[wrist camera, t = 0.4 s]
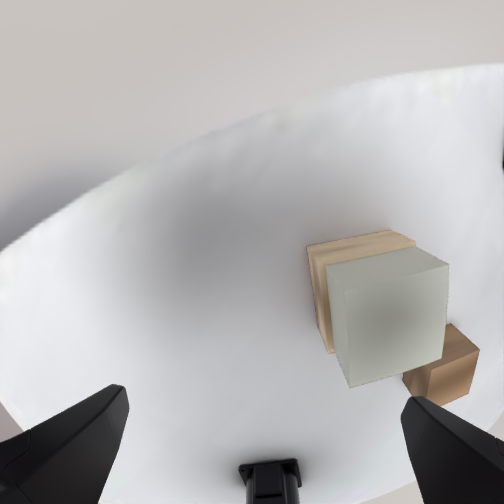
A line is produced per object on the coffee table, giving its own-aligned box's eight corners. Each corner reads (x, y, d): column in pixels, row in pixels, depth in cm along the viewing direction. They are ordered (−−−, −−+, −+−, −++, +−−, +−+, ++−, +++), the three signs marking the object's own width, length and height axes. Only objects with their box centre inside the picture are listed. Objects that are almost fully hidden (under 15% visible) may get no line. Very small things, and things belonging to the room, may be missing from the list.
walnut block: (444, 364, 24) (468, 393, 19) (402, 380, 24) (422, 413, 19) (450, 322, 23) (479, 349, 18) (405, 338, 23) (431, 369, 18)
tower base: (393, 307, 22) (415, 330, 18) (317, 326, 23) (328, 354, 19) (389, 229, 21) (415, 241, 17) (306, 245, 21) (317, 261, 17)
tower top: (413, 328, 18) (441, 358, 14) (334, 350, 19) (349, 388, 15) (414, 245, 17) (449, 264, 13) (324, 265, 17) (343, 291, 13)
